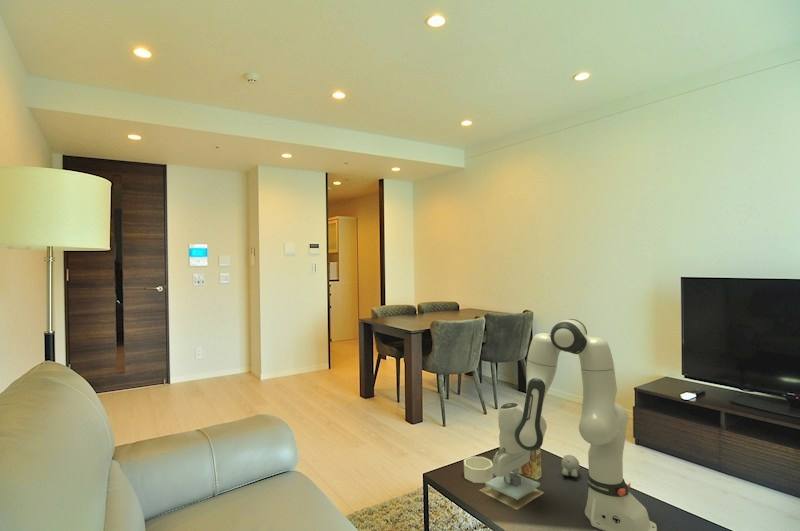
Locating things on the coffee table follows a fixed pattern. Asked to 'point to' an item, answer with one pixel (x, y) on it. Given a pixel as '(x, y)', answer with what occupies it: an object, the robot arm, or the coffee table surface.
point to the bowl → (478, 469)
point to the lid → (513, 485)
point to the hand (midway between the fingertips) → (512, 480)
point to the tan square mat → (510, 500)
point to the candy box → (532, 465)
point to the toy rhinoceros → (570, 466)
